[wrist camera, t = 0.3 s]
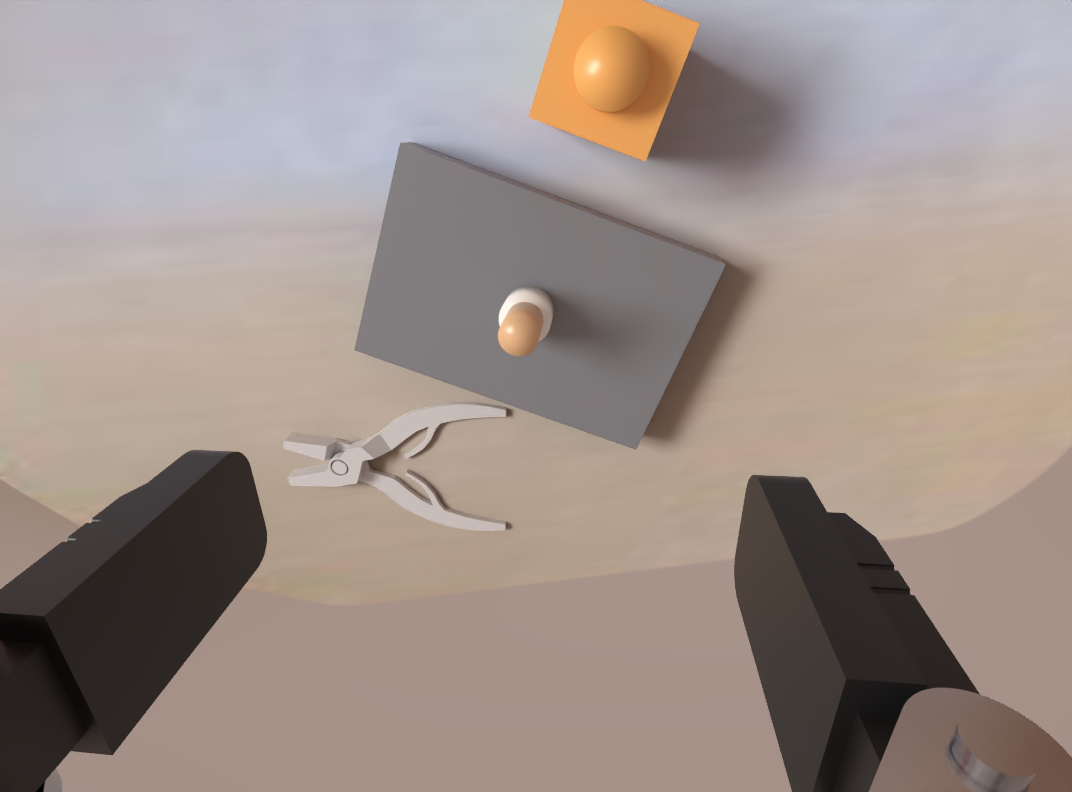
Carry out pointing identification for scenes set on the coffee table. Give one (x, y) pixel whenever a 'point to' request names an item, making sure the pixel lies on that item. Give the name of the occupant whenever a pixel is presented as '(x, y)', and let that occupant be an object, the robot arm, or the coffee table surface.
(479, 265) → the flat grey base plate
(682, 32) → the orange cube with dome
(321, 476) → the pliers
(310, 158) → the coffee table surface
